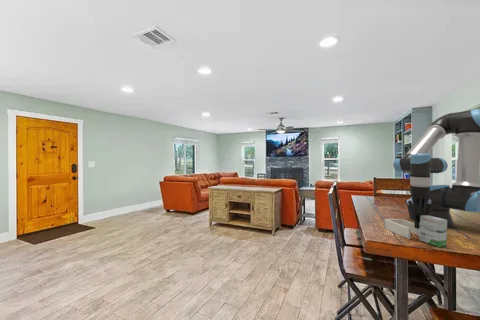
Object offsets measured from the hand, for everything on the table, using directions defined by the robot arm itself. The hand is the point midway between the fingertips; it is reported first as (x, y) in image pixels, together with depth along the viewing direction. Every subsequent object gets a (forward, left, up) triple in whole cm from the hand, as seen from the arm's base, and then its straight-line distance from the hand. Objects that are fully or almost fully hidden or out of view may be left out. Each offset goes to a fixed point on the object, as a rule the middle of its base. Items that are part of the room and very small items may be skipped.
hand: (419, 235), depth 110 cm
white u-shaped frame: (-1, -10, -2) cm, 10 cm away
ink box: (-1, +6, -2) cm, 6 cm away
